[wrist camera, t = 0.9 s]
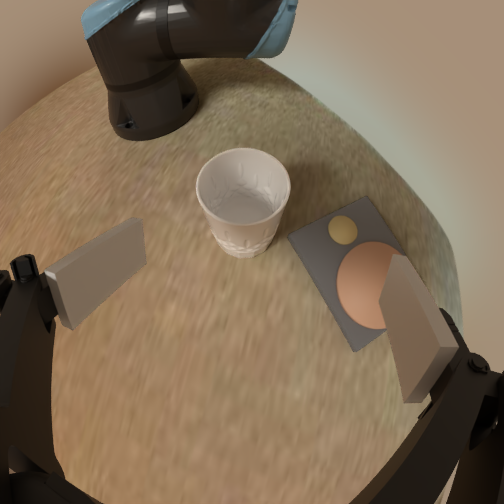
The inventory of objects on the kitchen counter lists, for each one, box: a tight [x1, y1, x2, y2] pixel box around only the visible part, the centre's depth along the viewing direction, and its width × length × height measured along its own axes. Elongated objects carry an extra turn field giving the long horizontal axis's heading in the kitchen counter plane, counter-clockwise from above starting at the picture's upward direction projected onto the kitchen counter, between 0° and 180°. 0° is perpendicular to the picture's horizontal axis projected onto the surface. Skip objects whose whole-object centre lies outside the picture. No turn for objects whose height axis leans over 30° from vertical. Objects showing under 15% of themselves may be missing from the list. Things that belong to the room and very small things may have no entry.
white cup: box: [196, 148, 291, 258], centre depth 27 cm, size 8×8×10 cm
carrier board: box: [287, 196, 406, 352], centre depth 30 cm, size 15×12×2 cm
